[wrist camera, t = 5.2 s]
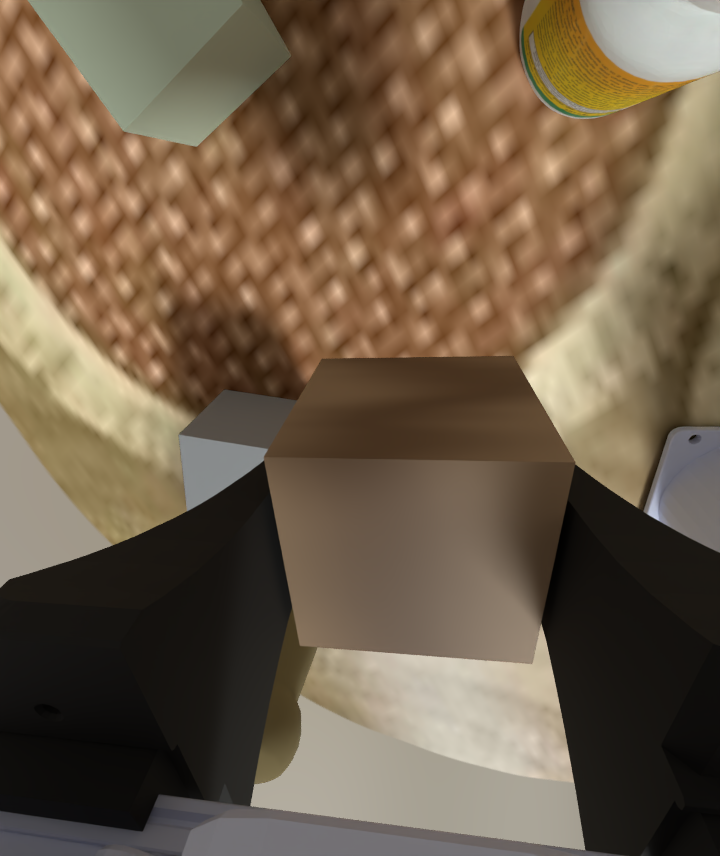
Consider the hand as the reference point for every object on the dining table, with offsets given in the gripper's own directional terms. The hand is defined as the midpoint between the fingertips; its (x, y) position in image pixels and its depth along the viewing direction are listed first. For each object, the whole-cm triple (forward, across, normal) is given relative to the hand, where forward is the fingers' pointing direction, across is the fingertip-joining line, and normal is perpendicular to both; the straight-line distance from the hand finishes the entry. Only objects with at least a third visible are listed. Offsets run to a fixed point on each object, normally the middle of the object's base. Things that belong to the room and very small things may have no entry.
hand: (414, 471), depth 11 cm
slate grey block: (+10, +8, +5) cm, 14 cm away
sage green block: (+10, +8, -12) cm, 18 cm away
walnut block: (+2, 0, 0) cm, 2 cm away
